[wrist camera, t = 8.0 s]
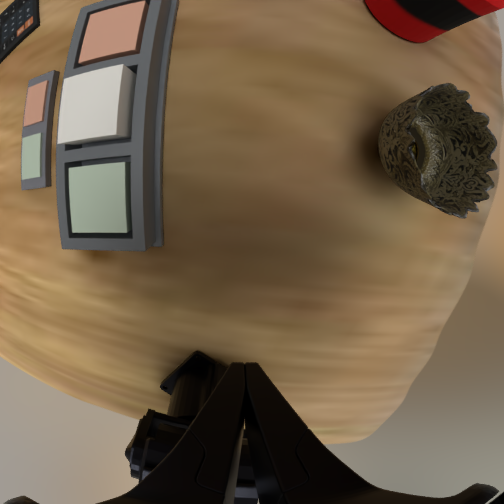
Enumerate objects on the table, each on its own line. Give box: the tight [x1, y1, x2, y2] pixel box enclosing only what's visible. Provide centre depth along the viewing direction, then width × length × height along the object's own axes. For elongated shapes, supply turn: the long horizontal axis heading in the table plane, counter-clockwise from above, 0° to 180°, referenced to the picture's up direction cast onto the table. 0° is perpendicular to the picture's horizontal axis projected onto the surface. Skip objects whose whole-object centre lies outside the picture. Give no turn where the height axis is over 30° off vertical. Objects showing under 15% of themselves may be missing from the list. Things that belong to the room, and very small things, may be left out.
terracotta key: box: [79, 1, 149, 66], centre depth 13 cm, size 4×4×2 cm
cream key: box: [57, 64, 137, 145], centre depth 13 cm, size 4×4×2 cm
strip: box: [21, 70, 59, 190], centre depth 15 cm, size 10×3×1 cm, turn 178°
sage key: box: [69, 162, 132, 233], centre depth 16 cm, size 4×4×2 cm
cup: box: [378, 83, 497, 218], centre depth 14 cm, size 8×7×8 cm
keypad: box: [56, 0, 179, 251], centre depth 15 cm, size 20×8×3 cm, turn 178°
